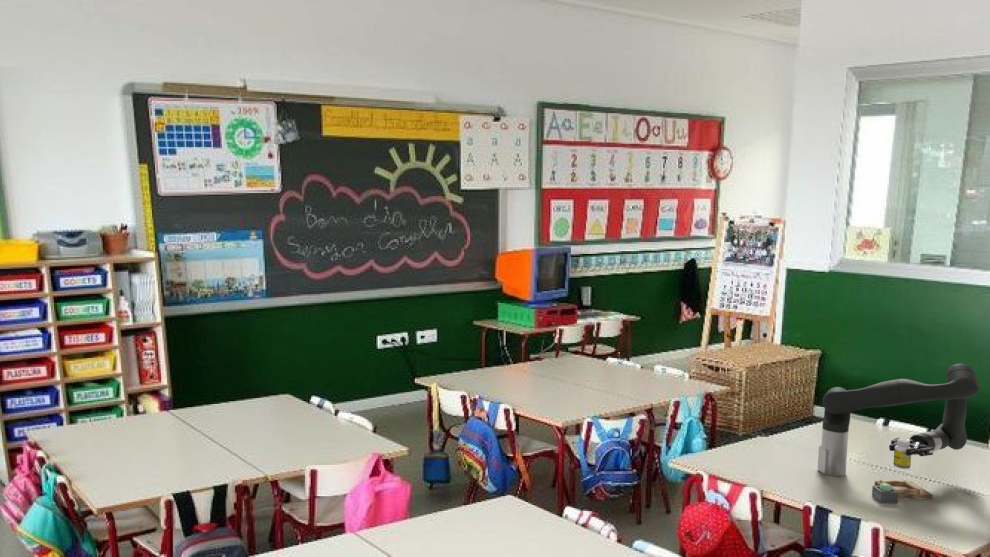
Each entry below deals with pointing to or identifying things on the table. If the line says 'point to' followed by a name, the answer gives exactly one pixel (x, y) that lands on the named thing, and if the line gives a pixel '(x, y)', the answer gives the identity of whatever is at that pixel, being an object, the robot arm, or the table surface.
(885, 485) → the button
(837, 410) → the robot arm
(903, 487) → the pallet board
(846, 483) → the table surface
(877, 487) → the button box
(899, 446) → the supplement bottle
